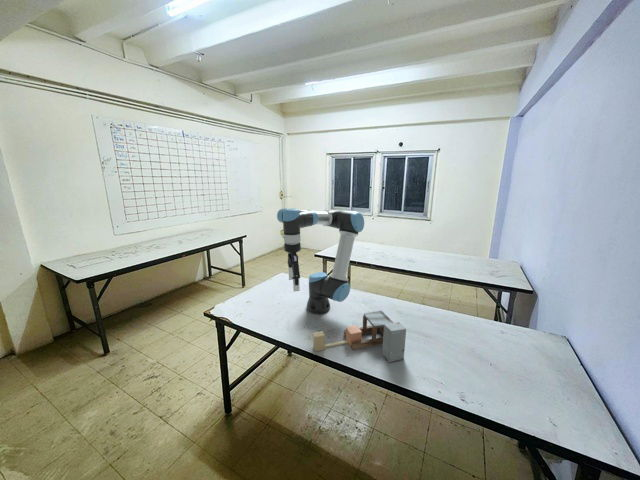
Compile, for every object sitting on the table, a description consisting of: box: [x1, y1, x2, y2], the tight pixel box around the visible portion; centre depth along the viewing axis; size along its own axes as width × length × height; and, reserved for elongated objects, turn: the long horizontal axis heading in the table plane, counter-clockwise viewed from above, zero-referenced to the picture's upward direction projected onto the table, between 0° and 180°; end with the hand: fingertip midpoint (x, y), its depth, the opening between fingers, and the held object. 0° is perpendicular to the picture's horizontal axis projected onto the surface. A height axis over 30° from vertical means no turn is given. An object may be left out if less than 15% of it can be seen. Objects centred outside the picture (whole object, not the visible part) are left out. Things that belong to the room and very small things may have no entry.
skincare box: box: [381, 321, 407, 363], centre depth 117 cm, size 8×7×16 cm
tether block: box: [312, 325, 363, 352], centre depth 126 cm, size 6×24×8 cm, turn 106°
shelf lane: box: [343, 310, 395, 351], centre depth 130 cm, size 12×22×11 cm, turn 106°
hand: (294, 285), depth 121 cm, fingers open, 13 cm apart
